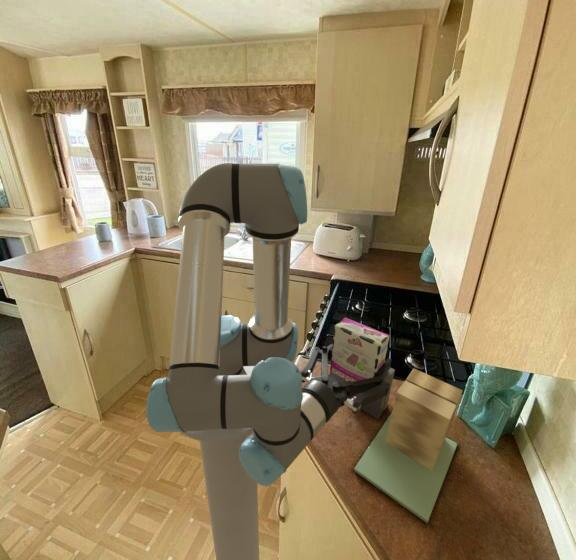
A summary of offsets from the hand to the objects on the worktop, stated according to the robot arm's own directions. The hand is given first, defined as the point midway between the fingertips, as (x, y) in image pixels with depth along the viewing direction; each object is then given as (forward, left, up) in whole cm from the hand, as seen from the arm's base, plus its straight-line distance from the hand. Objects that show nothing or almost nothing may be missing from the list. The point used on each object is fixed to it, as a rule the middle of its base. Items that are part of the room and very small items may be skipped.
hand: (365, 352), depth 74 cm
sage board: (+15, -2, -21) cm, 26 cm away
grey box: (0, +6, -21) cm, 22 cm away
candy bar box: (0, -4, -8) cm, 9 cm away
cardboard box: (+15, +3, -21) cm, 26 cm away
